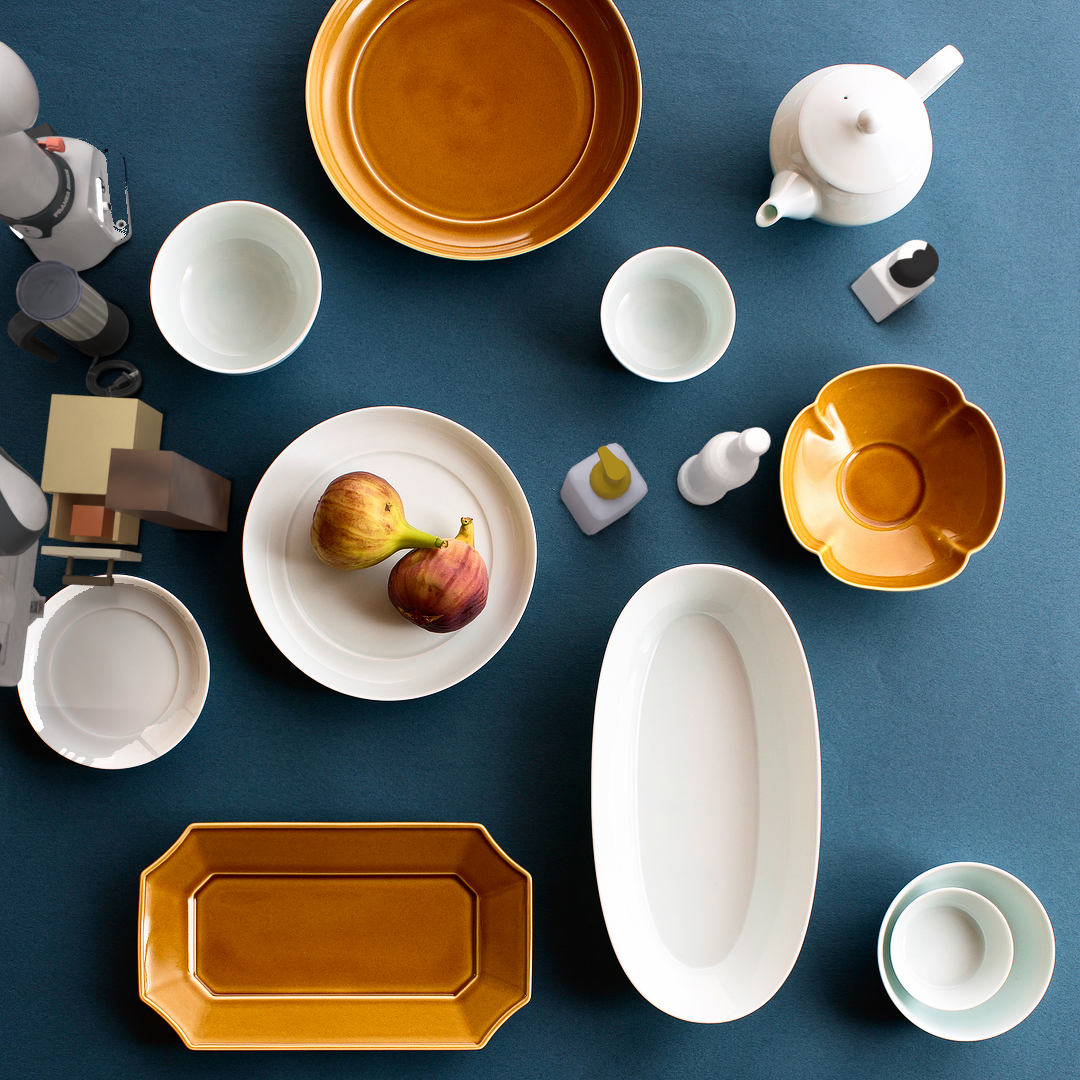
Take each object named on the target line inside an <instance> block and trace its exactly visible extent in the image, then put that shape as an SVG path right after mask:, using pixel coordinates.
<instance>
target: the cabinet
mask: <svg viewBox="0 0 1080 1080" xmlns="http://www.w3.org/2000/svg"><path fill="white" fill-rule="evenodd" d="M163 416H164V414H163V413H161V412H160V411H158V410H156V409H155V408H153V407H152V406H150V405H149V404H147V403H145V402H143V400H140V399H138V398H129V397H124V398H111V397H98V396H91V395H75V394H74V395H73V394H72V395H71V394H58V393H57V394H55V393H53V394H51V399H50V408H49V416H48V424H47V433H46V440H45V450H44V459H43V467H42V474H41V475H42V476H41V484H40V486H41V488H42V490H43V491H44V493H45V494H50V495H54V492H55V493H75V494H94V495H106V491H107V482H108V473H109V463H110V454H111V448H123V449H141V450H160V447H161V446H160V445H161V436H162V427H163V426H162V425H163V418H164V417H163Z"/></svg>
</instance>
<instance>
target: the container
mask: <svg viewBox="0 0 1080 1080" xmlns="http://www.w3.org/2000/svg"><path fill="white" fill-rule="evenodd" d="M939 265H940V258H939V254H938V252H937V250H936V249H935V247H934V246H933V245H931V244H930V243H929V242H927V241H925V240H921V239H912V240H909V241H906V242H904V243H903V244H902V245H900V246H899V247H897V248H896V249H894V250H893V251H891V252H890V253H888V254H887V255H886V256H884V257H882V258H881V259H879V260H878V261H876V262H875V263H874V264H872V265H870V266H869V267H868V268H867V270H865V271H864V272H863V273H862V274H861V275H860V276H859V277H858V279H856V280H855V281H854V282H853V283H852V285H851V286H850V288H851V289H852V291H853V292H854V294H855V295H856V297H857V298H858V299H859V300H860V302H861V303H862V305H863V306H864V307H865V309H866V310H867V311H868V312H869V315H870V316H871V317H872V318H873V320H874V321H875V322H876V323H880V322H881V321H883V320H884V319H886V318H887V317H889V316H890V315H892V314H893V313H894V312H896V311H897V310H899V309H901V308H902V307H904V306H905V305H907V304H908V303H910V302H911V301H913V299H915V298H916V297H917V296H919V295H920V294H921V293H922V292H924V291H925V290H926V289H928V288H929V287H930V286H931V285H933V283H934V282H935V281H936V278H935V277H934V275H935V274H936V273H937V271H938V269H939Z"/></svg>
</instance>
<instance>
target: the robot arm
mask: <svg viewBox="0 0 1080 1080" xmlns="http://www.w3.org/2000/svg"><path fill="white" fill-rule="evenodd" d="M38 89H39V88H38V85H37V83H36V80H35V78H34V76H33V74H32V71H31V70H30V69H29V67H28V66H27V64H26V63H25V61H24V60H23V59H22V58H21V57H20V56H19V55H18V54H17V52H15V50H13V49H12V48H11V47H10V46H8V45H7V44H5V43H4V42H2V41H0V220H1V221H2V222H3V223H4V224H5V225H7V226H8V227H9V228H10V229H11V231H12V232H13V233H14V234H15V235H16V236H17V237H18V238H19V239H22V240H23V241H24V242H25V243H26V244H27V246H28V247H29V249H30V250H31V251H32V253H33V255H34V256H35V257H36V258H37V259H38V260H39V262H42V261H48V260H54V261H60V262H63V263H65V264H67V265H69V266H70V267H72V268H74V269H75V270H76V271H77V272H82V271H85V270H88V269H91V268H93V267H95V266H96V265H99V263H101V262H103V260H105V259H106V258H107V257H108V256H109V254H110V253H111V252H112V251H113V250H114V249H115V248H116V247H119V246H120V245H123V244H124V243H126V242H127V241H129V240H130V239H131V237H132V235H133V229H132V219H131V208H130V199H129V189H128V185H127V186H126V187H127V189H126V190H125V194H126V204H127V214H128V224H129V233H128V235H127V236H126V234H125V233H126V232H125V233H123V232H124V231H123V230H125V228H124V227H125V226H126V225H127V224H126V222H125V221H124V220H122V219H121V220H118V221H117V222H116V225H115V224H114V222H113V218H112V214H111V213H112V212H111V210H112V206H111V203H110V194H109V185H108V173H107V162H106V160H107V159H106V157H105V155H104V154H103V153H102V152H101V151H100V150H98V149H97V148H96V147H94V146H93V145H91V144H89V143H87V142H85V141H82V140H79V139H80V138H74V137H70V136H60V135H59V134H58V132H57V131H56V130H55V129H54V128H53V127H52V126H51V125H50V124H49V122H47V121H46V122H44V123H42V124H39V125H37V126H35V127H33V126H34V125H35V123H36V121H37V119H38V116H39V111H40V94H39V90H38ZM125 183H126V182H125ZM126 187H125V188H126ZM127 190H128V191H127ZM122 225H123V226H122ZM113 226H115V227H117V228H118V229H122V230H121V231H123V232H122V233H121V231H120V232H119V230H118V231H117V229H116V230H115V228H114V227H113ZM123 228H124V229H123ZM125 231H127V229H126V230H125ZM124 234H125V235H124ZM125 236H126V237H125ZM124 237H125V238H124ZM121 239H122V240H121ZM49 522H50V505H49V502H48V498H47V496H46V492H44V491H43V490H42V488H41V484H39V483H38V481H37V480H36V479H35V478H34V477H33V476H32V475H31V473H29V472H28V471H27V470H26V469H24V467H22V466H21V465H20V463H18V462H17V461H16V460H14V459H13V458H12V457H11V456H10V455H9V453H7V452H6V451H5V449H3V447H2V446H1V445H0V687H16V686H17V685H18V684H19V683H20V681H22V678H23V670H24V662H25V655H26V645H27V638H28V637H27V636H28V631H29V630H28V629H29V627H30V626H32V624H33V623H34V622H35V621H36V620H37V619H44V616H45V615H44V614H45V604H46V599H47V596H44V595H40V593H39V592H38V590H37V589H36V588H35V587H34V580H35V574H36V573H35V572H36V565H37V558H38V557H37V556H38V550H39V549H38V548H39V542H40V538H41V536H42V535H43V533H44V532H45V530H46V528H47V526H48V524H49Z"/></svg>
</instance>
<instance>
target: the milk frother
mask: <svg viewBox="0 0 1080 1080" xmlns="http://www.w3.org/2000/svg"><path fill="white" fill-rule="evenodd" d="M15 296H16V301H17V304H18V306H19V308H20V310H19V311H18V312H17V313H15V314H14V316H12V318H11V319H10V320H9V321H8V324H7V335H8V336H9V337H10V339H11V340H12V341H13V342H14V344H15V345H16V346H17V347H18V348H19V349H21V350H23V351H25V352H27V353H28V354H30V355H33V356H36V357H38V358H40V359H42V360H44V361H46V362H49V363H52V364H53V363H56V362H59V360H60V355H59V352H58V351H57V350H56V349H55V348H54V347H53V346H52V345H50V344H48V343H47V342H45V341H43V340H42V339H39V338H38V337H36V336H34V334H35V333H36V332H37V331H38V330H39V329H41V328H42V327H43V328H44V329H46V330H48V331H49V332H51V333H53V334H54V335H55V336H57V337H58V338H59V339H61V340H63V341H64V342H66V343H67V344H69V345H70V346H71V347H73V348H75V349H77V350H79V351H80V352H81V353H83V354H84V355H87V356H89V357H93V360H92V363H91V365H90V367H89V369H88V371H87V373H86V376H85V385H86V388H87V389H88V391H89V392H90V393H91V394H92V395H94V396H95V397H111V398H129V397H130V396H132V395H134V394H135V393H136V392H137V391H139V390H140V388H141V386H142V383H143V377H142V374H141V372H140V371H139V369H138V368H137V367H136V366H135V365H134V364H132V363H131V362H129V361H127V360H120V359H112V360H106V361H103V362H101V363H98V364H97V362H98V361H99V359H100V358H102V357H103V358H104V357H107V356H110V355H112V354H114V353H116V352H118V351H119V350H120V349H121V348H122V347H123V346H124V344H125V343H126V341H127V340H128V337H129V332H130V324H129V321H128V318H127V315H126V314H125V312H124V311H123V310H122V308H120V307H118V306H117V305H115V304H113V303H111V302H110V301H108V300H107V299H106V298H105V297H103V296H102V295H101V294H100V293H99V292H97V291H96V290H95V289H94V288H93V287H91V286H90V285H89V284H88V283H87V282H86V281H84V280H83V278H81V277H80V276H79V274H78V271H76V270H75V269H74V268H72V267H70V266H69V265H67V264H65V263H63V262H60V261H54V260H48V261H42V262H41V261H38V262H36V263H34V264H32V265H31V266H30V267H28V268H27V269H25V271H24V272H23V273H22V274H21V275H20V277H19V279H18V282H17V285H16V289H15ZM109 369H123V370H126V371H128V372H130V373H127V372H125V371H122V375H120V376H119V377H118V378H117V379H116V380H115V381H113V383H112V384H111V385H110V386H107V388H103V387H102V386H99V385H98V383H97V380H98V377H99V375H100V374H102V372H104V371H106V370H109Z"/></svg>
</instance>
